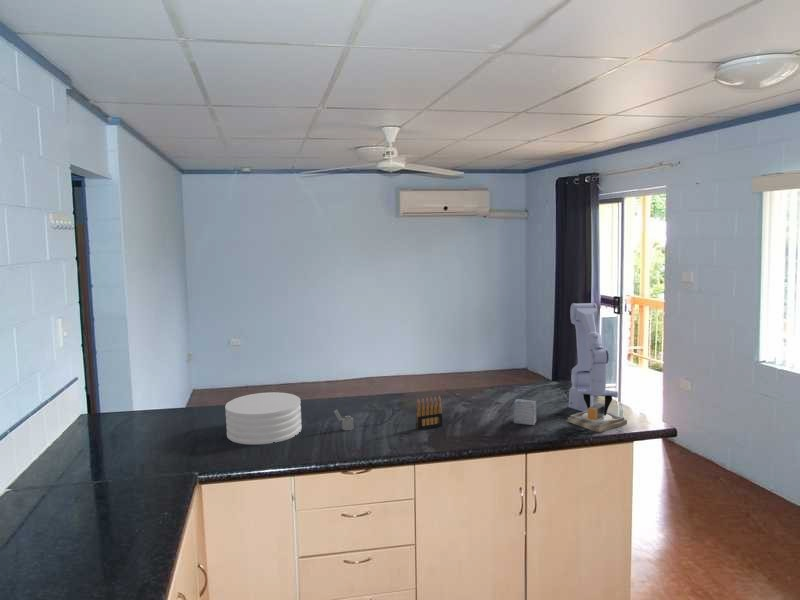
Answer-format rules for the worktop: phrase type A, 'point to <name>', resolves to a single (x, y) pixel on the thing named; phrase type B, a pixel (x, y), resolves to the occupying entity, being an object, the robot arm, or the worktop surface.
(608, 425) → the square tray
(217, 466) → the worktop surface
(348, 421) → the lighter
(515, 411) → the medicine box
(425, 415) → the ammunition clip
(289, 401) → the plate stack
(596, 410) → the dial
